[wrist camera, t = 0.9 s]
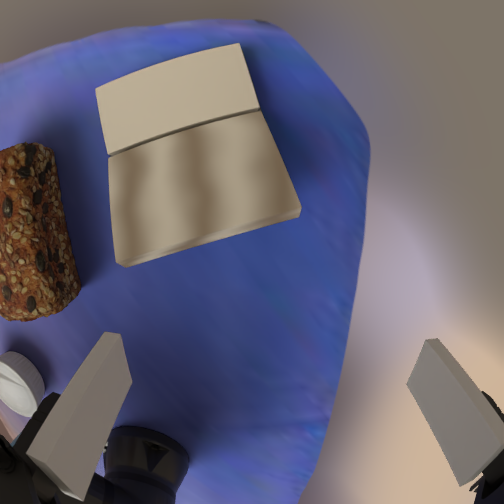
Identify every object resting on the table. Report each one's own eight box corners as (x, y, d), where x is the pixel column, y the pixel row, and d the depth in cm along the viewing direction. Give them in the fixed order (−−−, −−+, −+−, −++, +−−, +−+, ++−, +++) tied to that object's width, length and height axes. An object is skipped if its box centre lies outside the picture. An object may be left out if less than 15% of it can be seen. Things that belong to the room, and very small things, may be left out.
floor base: (143, 258, 31) (136, 266, 28) (101, 97, 26) (91, 90, 23) (288, 216, 32) (295, 219, 29) (241, 53, 27) (243, 42, 24)
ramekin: (21, 337, 32) (4, 353, 26) (61, 394, 34) (49, 413, 29) (-7, 353, 31) (-23, 367, 26) (28, 403, 34) (16, 419, 29)
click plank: (125, 267, 24) (115, 262, 22) (116, 168, 27) (108, 158, 25) (298, 216, 25) (301, 207, 23) (261, 123, 28) (260, 110, 26)
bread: (5, 168, 26) (-44, 169, 17) (61, 144, 27) (13, 134, 17) (30, 300, 31) (-10, 330, 21) (88, 292, 31) (51, 327, 22)
